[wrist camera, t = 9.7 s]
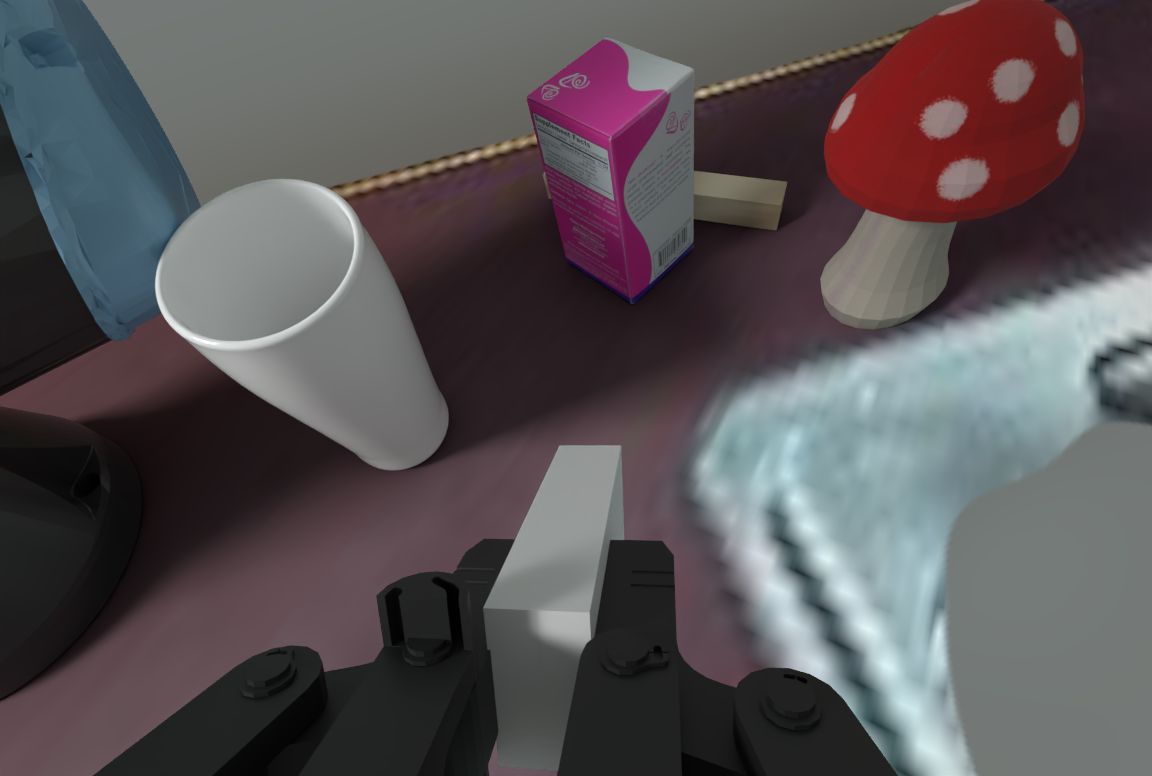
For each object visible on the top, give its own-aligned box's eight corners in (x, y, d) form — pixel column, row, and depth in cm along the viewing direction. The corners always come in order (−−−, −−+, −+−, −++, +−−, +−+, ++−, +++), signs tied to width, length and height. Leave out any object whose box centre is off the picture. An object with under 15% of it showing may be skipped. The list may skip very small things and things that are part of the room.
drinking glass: (351, 505, 31) (153, 379, 17) (331, 391, 34) (146, 207, 20) (478, 463, 32) (383, 310, 18) (448, 355, 34) (345, 152, 21)
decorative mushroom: (895, 209, 36) (1015, -85, 23) (1011, 305, 32) (1238, 7, 19) (753, 279, 35) (799, 9, 22) (854, 389, 31) (984, 131, 18)
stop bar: (548, 198, 41) (543, 174, 39) (558, 178, 42) (553, 154, 40) (776, 230, 37) (781, 205, 35) (782, 207, 37) (787, 182, 36)
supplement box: (624, 208, 39) (607, 30, 30) (695, 249, 37) (703, 68, 27) (561, 261, 38) (522, 91, 28) (632, 308, 35) (616, 139, 25)
